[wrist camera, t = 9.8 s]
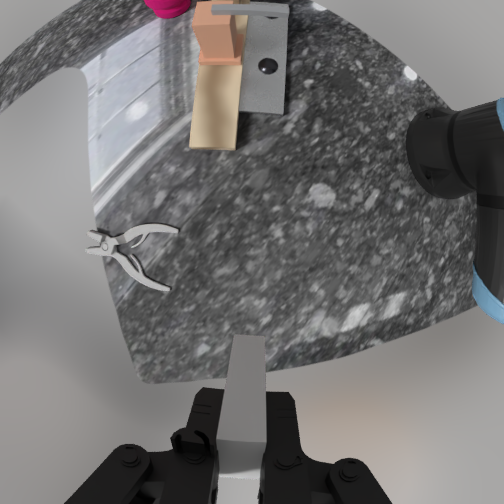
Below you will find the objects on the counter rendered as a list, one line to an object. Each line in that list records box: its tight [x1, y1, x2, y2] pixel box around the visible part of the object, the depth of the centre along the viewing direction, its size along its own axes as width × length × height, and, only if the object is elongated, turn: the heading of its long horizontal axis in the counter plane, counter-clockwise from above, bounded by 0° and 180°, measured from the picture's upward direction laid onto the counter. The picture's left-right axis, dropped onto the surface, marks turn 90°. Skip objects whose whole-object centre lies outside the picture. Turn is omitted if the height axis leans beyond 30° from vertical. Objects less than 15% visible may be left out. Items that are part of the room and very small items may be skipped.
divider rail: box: [189, 0, 250, 150], centre depth 26 cm, size 11×26×13 cm, turn 176°
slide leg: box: [192, 1, 289, 65], centre depth 24 cm, size 11×5×11 cm, turn 86°
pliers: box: [86, 224, 179, 291], centre depth 38 cm, size 10×2×15 cm
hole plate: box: [239, 2, 288, 116], centre depth 31 cm, size 6×21×1 cm, turn 176°
